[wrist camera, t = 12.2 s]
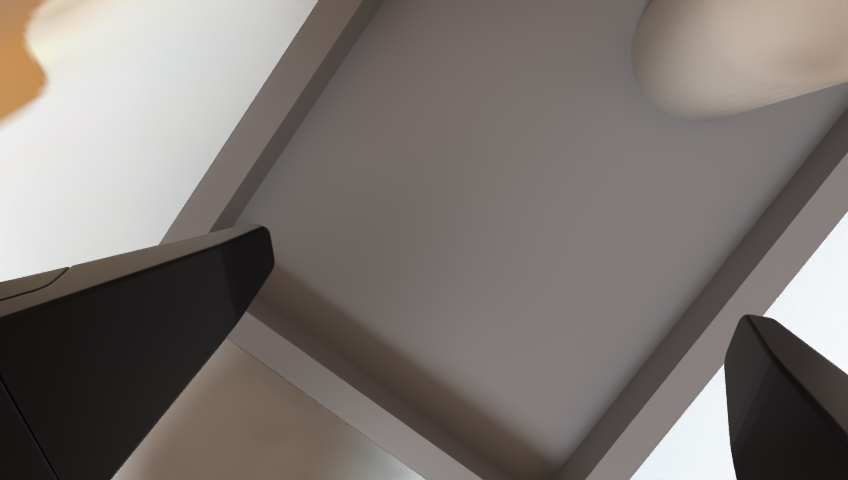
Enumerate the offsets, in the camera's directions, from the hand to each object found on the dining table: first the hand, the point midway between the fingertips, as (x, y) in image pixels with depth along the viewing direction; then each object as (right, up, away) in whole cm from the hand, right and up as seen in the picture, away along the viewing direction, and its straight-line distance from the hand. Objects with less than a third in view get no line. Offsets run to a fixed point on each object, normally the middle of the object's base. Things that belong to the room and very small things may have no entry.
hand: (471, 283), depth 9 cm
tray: (+4, +4, +9) cm, 11 cm away
